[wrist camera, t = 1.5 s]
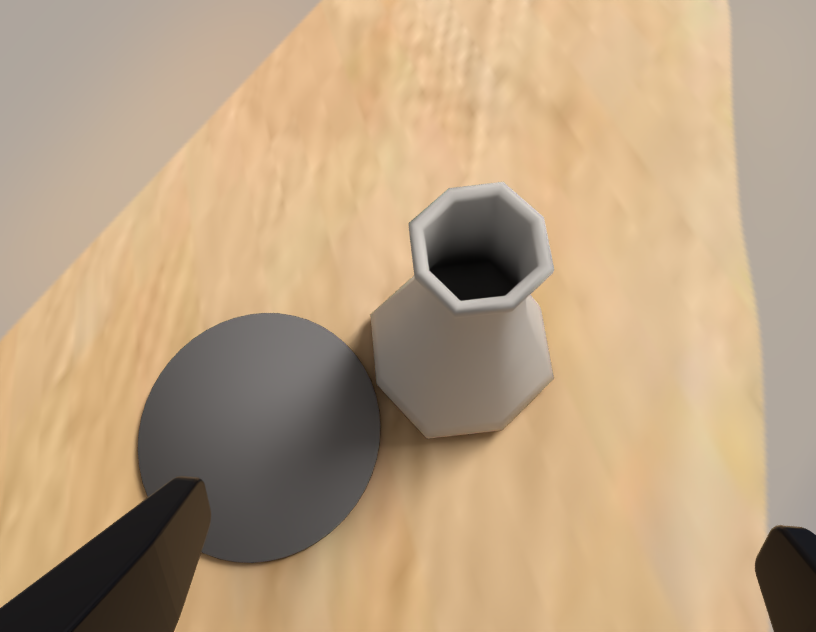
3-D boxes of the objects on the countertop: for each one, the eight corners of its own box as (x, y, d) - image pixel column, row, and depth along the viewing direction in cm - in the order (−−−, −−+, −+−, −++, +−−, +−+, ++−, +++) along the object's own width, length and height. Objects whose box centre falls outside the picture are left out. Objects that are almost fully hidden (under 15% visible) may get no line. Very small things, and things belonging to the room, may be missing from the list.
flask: (498, 237, 23) (545, 63, 13) (584, 390, 21) (714, 319, 11) (342, 306, 22) (272, 178, 13) (415, 471, 20) (398, 470, 11)
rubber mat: (382, 558, 20) (381, 559, 19) (128, 564, 20) (123, 566, 20) (378, 310, 22) (378, 308, 22) (155, 319, 22) (151, 317, 22)
